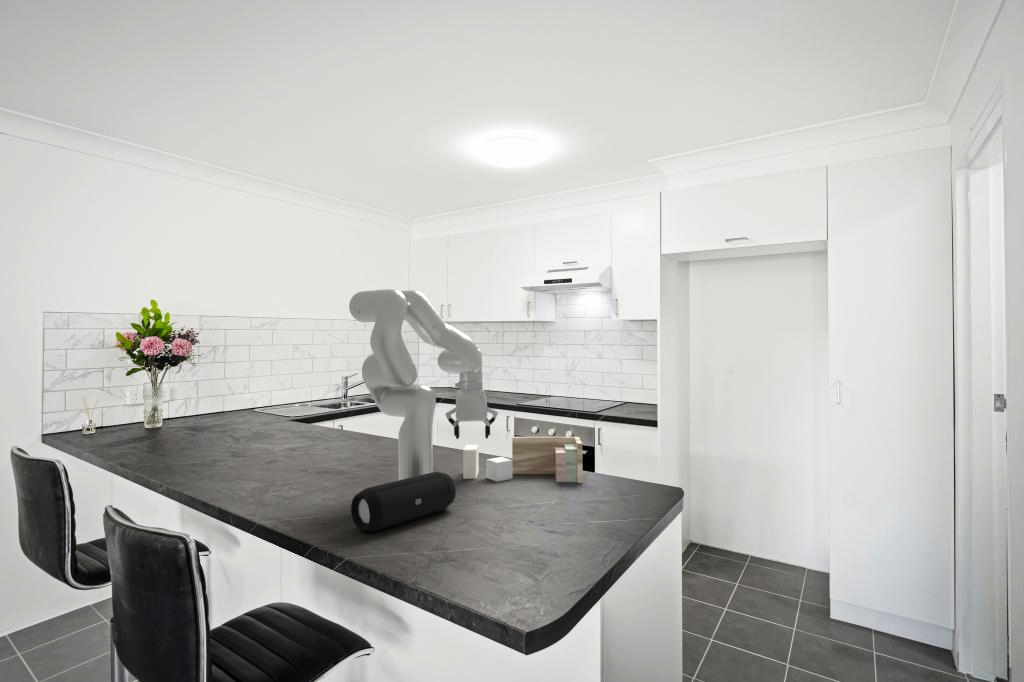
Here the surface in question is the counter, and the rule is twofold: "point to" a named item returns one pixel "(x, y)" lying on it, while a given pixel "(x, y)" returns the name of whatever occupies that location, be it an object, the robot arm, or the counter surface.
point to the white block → (470, 461)
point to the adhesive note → (499, 469)
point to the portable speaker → (402, 501)
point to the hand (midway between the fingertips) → (472, 437)
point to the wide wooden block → (548, 457)
